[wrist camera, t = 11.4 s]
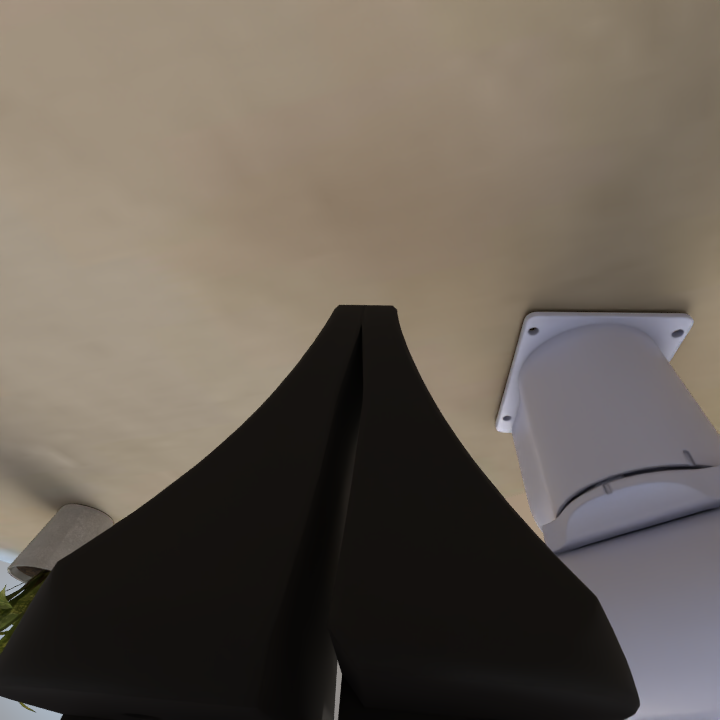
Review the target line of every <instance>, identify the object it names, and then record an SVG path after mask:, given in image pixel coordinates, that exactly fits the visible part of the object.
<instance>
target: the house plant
mask: <svg viewBox="0 0 720 720" xmlns="http://www.w3.org/2000/svg"><path fill="white" fill-rule="evenodd" d="M112 526H113V520H112V519H111V518H110V517H109V516H108V515H106V514H105V513H103V512H101V511H99V510H97V509H94V508H91V507H88V506H84V505H78V504H67V505H64V506H63V507H62V508H61V509H60V510H59V511H58V512H57V513H56V514H55V515H54V517H53V518H52V519H51V520H50V521H49V522H48V523H47V524H46V526H45V527H44V528H43V529H42V530H41V531H40V532H39V533H38V534H37V536H36V537H35V538H34V539H33V540H32V541H31V542H30V543H29V545H28V546H27V547H26V548H25V549H24V550H23V551H22V552H21V554H20V555H19V556H18V557H17V558H16V559H15V560H14V561H13V563H12V564H11V565H10V566H9V567H8V573H9V574H10V575H11V576H12V577H14V578H15V579H17V580H19V581H21V582H23V583H26V584H25V585H24V586H23V587H22V588H21V589H19V590H18V591H16V592H14V593H12V594H10V595H8V596H5V587H6V585H5V587H4V589H3V590H2V591H1V592H0V635H5V634H6V635H5V636H4V637H3V638H2V639H1V640H0V654H1V653H2V651H3V649H4V648H5V646H6V644H7V643H8V641H9V639H10V637H11V636H12V634H13V632H14V631H15V629H16V627H17V626H18V624H19V622H20V620H21V619H22V617H23V615H24V614H25V612H26V610H27V608H28V607H29V605H30V603H31V602H32V600H33V598H34V597H35V595H36V593H37V591H38V590H39V588H40V587H41V585H42V584H43V582H44V581H45V579H46V578H47V576H48V575H49V573H50V572H51V570H52V569H53V567H54V566H55V564H56V563H57V561H59V560H61V559H62V558H64V557H65V556H67V555H69V554H70V553H72V552H73V551H75V550H77V549H78V548H80V547H81V546H83V545H84V544H86V543H87V542H89V541H90V540H92V539H93V538H95V537H96V536H98V535H99V534H101V533H102V532H104V531H106V530H107V529H109V528H110V527H112ZM21 584H22V583H21ZM15 587H16V586H15ZM24 589H25V590H24ZM9 590H10V589H9ZM23 590H24V591H23ZM21 591H23V592H22V593H21V594H20V595H18V596H17V597H15V598H13V597H14V596H16V595H17V594H19V593H20V592H21ZM12 598H13V599H12ZM11 599H12V600H11ZM9 600H10V601H9ZM8 601H9V602H8ZM11 624H12V625H13V627H12V628H11V629H10V630H9V631H5V632H1V631H3V630H4V629H6V628H7V627H9V626H10V625H11ZM20 704H21V705H22V706H23V707H25V708H26V709H28V710H31V711H33V710H32V709H30V708H28V707H27V706H25V705H24V704H23V703H22V702H20ZM34 712H35V711H34Z"/></svg>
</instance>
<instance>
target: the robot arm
mask: <svg viewBox="0 0 720 720" xmlns="http://www.w3.org/2000/svg"><path fill="white" fill-rule="evenodd" d="M693 323H694V321H693V319H692V317H691V316H690V315H688V314H685V313H616V312H532V313H530V314H528V315H527V316H526V317H525V319H524V322H523V326H522V330H521V333H520V337H519V340H518V344H517V348H516V351H515V355H514V358H513V362H512V366H511V369H510V373H509V376H508V380H507V383H506V387H505V391H504V394H503V398H502V401H501V405H500V409H499V412H498V416H497V419H496V423H495V426H496V430H497V431H499V432H505V433H512V435H513V439H514V444H515V448H516V452H517V456H518V461H519V465H520V469H521V473H522V478H523V482H524V486H525V490H526V494H527V499H528V503H529V507H530V510H531V513H532V516H533V518H534V520H535V522H536V524H537V525H538V527H539V528H540V530H541V531H542V532H543V535H544V540H545V543H544V542H543V541H542V540H541V539H540V538H539V537H538V536H537V535H536V534H535V533H534V531H533V530H532V529H531V528H530V527H529V526H528V525H527V523H525V521H524V520H523V519H522V518H521V517H520V516H519V515H518V513H517V512H516V511H515V510H514V509H513V508H512V507H511V506H510V505H509V503H508V502H507V501H506V500H505V498H504V497H503V496H502V495H501V493H500V492H499V491H498V490H497V488H496V487H495V486H494V485H493V484H492V482H491V481H490V480H489V479H488V477H487V476H486V475H485V474H484V472H483V471H482V470H481V469H480V468H479V466H478V465H477V464H476V463H475V461H474V460H473V459H472V457H471V456H470V454H469V453H468V452H467V450H466V449H465V448H464V446H463V445H462V443H461V442H460V441H459V439H458V438H457V436H456V435H455V433H454V432H453V430H452V429H451V427H450V426H449V424H448V423H447V421H446V420H445V418H444V417H443V415H442V413H441V412H440V410H439V408H438V407H437V405H436V403H435V402H434V400H433V398H432V396H431V395H430V393H429V391H428V389H427V387H426V386H425V384H424V382H423V380H422V378H421V376H420V374H419V372H418V370H417V367H416V365H415V363H414V361H413V359H412V357H411V354H410V352H409V350H408V347H407V345H406V342H405V339H404V336H403V334H402V331H401V327H400V324H399V319H398V314H397V309H396V308H394V307H393V306H383V305H339V306H338V307H336V308H335V309H334V311H333V313H332V315H331V316H330V318H329V320H328V321H327V323H326V324H325V326H324V327H323V329H322V331H321V332H320V333H319V335H318V336H317V338H316V339H315V341H314V342H313V344H312V345H311V346H310V348H309V349H308V350H307V352H306V353H305V354H304V356H303V357H302V358H301V360H300V361H299V362H298V364H297V365H296V366H295V367H294V369H293V370H292V371H291V372H290V373H289V375H288V376H287V377H286V378H285V379H284V380H283V382H282V383H281V384H280V385H279V386H278V388H277V389H276V390H275V391H274V392H273V393H272V394H271V396H270V397H269V398H268V399H267V400H266V401H265V402H264V403H263V404H262V405H261V406H260V407H259V408H258V409H257V410H256V411H255V412H254V413H253V414H252V415H251V416H250V417H249V418H248V419H247V420H246V421H245V422H244V423H243V424H242V425H241V426H240V427H239V428H238V429H237V430H236V431H235V432H234V433H232V434H231V435H230V436H229V437H228V438H227V439H226V440H225V441H224V442H222V443H221V444H220V445H219V446H218V447H217V448H216V449H215V450H214V451H212V452H211V453H210V454H209V455H208V456H206V457H205V458H204V459H203V460H202V461H200V462H199V463H198V464H197V465H196V466H194V467H193V468H192V469H190V470H189V471H188V472H186V473H185V474H184V475H183V476H181V477H180V478H179V479H177V480H176V481H175V482H173V483H172V484H171V485H169V486H168V487H167V488H165V489H164V490H163V491H162V492H160V493H159V494H158V495H156V496H155V497H154V498H152V499H151V500H150V501H148V502H147V503H145V504H144V505H143V506H141V507H140V508H138V509H137V510H136V511H134V512H133V513H131V514H130V515H128V516H127V517H125V518H124V519H122V520H121V521H119V522H118V523H116V524H115V525H113V526H112V527H110V528H109V529H107V530H106V531H104V532H102V533H101V534H99V535H98V536H96V537H95V538H93V539H92V540H90V541H89V542H87V543H86V544H84V545H83V546H81V547H80V548H78V549H77V550H75V551H73V552H72V553H70V554H69V555H67V556H65V557H64V558H62V559H61V560H59V561H57V563H56V564H55V566H54V567H53V569H52V570H51V572H50V573H49V575H48V576H47V578H46V579H45V581H44V582H43V584H42V585H41V587H40V588H39V590H38V591H37V593H36V595H35V597H34V598H33V600H32V602H31V603H30V605H29V607H28V608H27V610H26V612H25V614H24V615H23V617H22V619H21V620H20V622H19V624H18V626H17V627H16V629H15V631H14V632H13V634H12V636H11V637H10V639H9V641H8V643H7V644H6V646H5V648H4V649H3V651H2V653H1V654H0V696H2V697H5V698H8V699H11V700H15V701H18V702H22V703H25V704H29V705H32V706H36V707H39V708H43V709H47V710H50V711H54V712H57V713H61V714H63V716H62V718H61V720H334V708H335V691H336V675H337V660H338V663H339V666H340V669H341V672H342V682H341V693H340V704H339V717H338V720H720V435H719V434H718V432H717V431H716V429H715V428H714V427H713V425H712V424H711V422H710V421H709V419H708V418H707V416H706V415H705V414H704V412H703V411H702V409H701V408H700V406H699V405H698V404H697V402H696V401H695V399H694V398H693V396H692V395H691V393H690V392H689V391H688V389H687V388H686V386H685V385H684V383H683V382H682V380H681V379H680V378H679V376H678V375H677V373H676V372H675V370H674V369H673V368H672V366H671V365H670V363H669V362H670V360H671V359H672V357H673V356H674V354H675V353H676V351H677V349H678V348H679V346H680V345H681V343H682V341H683V340H684V338H685V337H686V335H687V333H688V332H689V330H690V329H691V327H692V326H693ZM534 327H536V329H535V330H532V331H530V330H529V329H531V328H534ZM676 330H678V331H676ZM674 331H676V332H674Z"/></svg>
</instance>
